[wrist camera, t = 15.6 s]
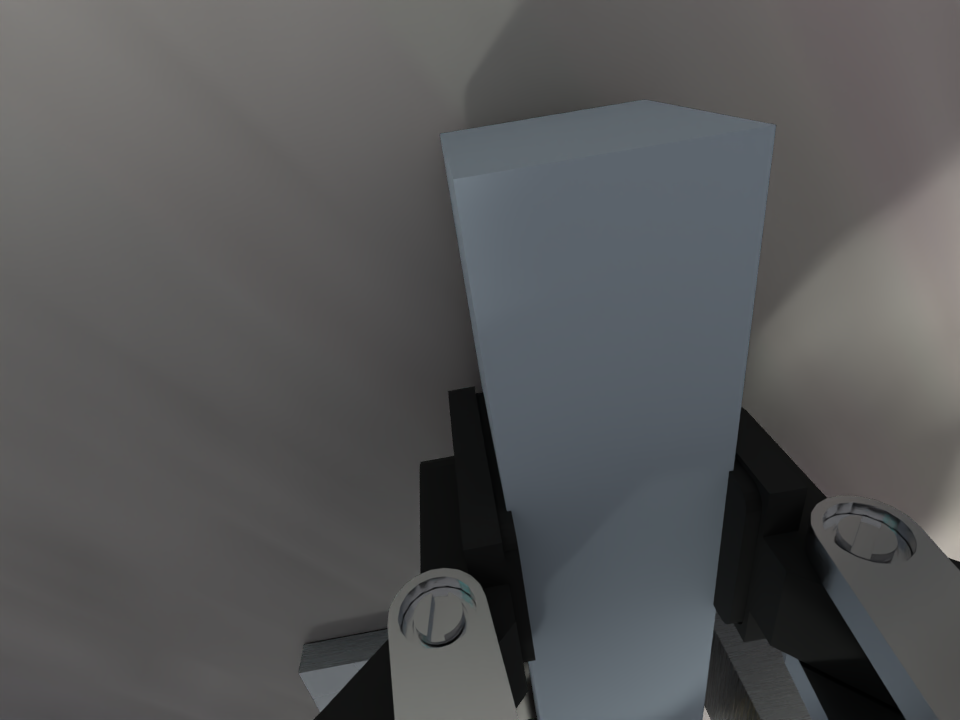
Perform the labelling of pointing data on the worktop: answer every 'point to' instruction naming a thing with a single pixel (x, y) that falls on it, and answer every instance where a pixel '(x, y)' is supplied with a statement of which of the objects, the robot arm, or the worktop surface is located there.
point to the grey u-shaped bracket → (729, 693)
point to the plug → (614, 379)
